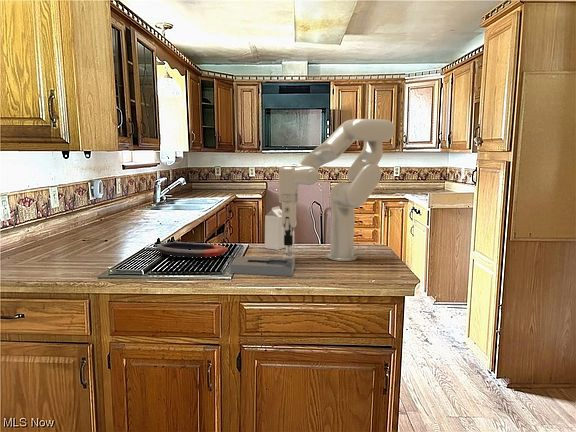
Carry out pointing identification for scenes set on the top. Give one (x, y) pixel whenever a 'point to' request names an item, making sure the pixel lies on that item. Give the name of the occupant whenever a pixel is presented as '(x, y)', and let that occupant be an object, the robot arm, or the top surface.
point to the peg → (289, 248)
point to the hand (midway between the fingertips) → (288, 243)
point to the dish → (198, 250)
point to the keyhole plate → (263, 266)
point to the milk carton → (274, 229)
